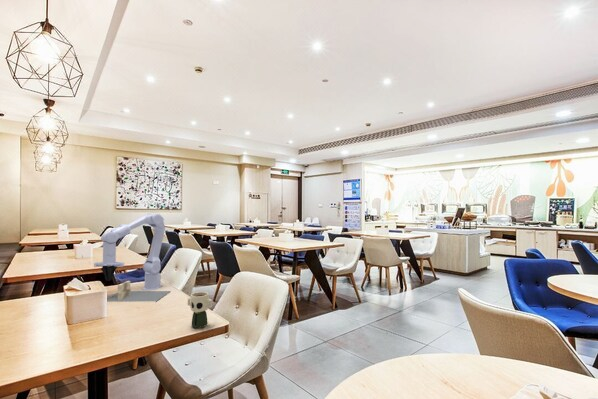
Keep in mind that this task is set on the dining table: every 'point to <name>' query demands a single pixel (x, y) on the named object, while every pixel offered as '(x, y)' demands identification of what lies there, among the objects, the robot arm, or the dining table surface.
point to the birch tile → (123, 290)
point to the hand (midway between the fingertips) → (108, 280)
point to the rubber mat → (139, 296)
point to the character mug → (199, 308)
